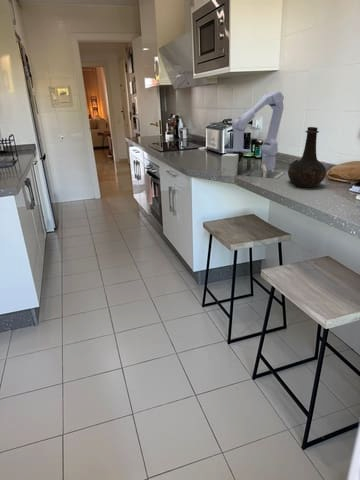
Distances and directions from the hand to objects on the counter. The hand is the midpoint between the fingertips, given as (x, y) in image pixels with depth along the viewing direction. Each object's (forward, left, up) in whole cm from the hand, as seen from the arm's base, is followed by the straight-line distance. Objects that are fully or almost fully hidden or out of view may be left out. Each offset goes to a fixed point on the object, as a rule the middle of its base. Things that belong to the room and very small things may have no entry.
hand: (237, 165), depth 199 cm
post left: (+7, +4, -5) cm, 9 cm away
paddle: (0, +17, -4) cm, 18 cm away
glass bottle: (+13, +41, -5) cm, 44 cm away
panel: (0, +17, -5) cm, 18 cm away
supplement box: (+10, -1, -5) cm, 11 cm away
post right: (-7, +4, -5) cm, 10 cm away
